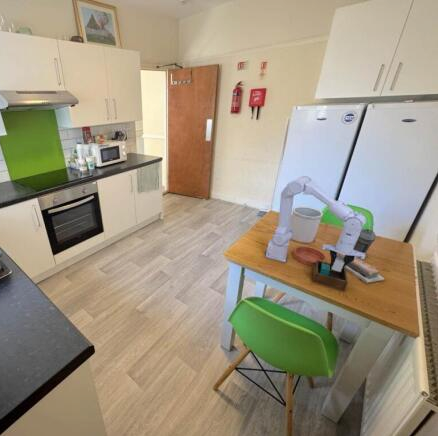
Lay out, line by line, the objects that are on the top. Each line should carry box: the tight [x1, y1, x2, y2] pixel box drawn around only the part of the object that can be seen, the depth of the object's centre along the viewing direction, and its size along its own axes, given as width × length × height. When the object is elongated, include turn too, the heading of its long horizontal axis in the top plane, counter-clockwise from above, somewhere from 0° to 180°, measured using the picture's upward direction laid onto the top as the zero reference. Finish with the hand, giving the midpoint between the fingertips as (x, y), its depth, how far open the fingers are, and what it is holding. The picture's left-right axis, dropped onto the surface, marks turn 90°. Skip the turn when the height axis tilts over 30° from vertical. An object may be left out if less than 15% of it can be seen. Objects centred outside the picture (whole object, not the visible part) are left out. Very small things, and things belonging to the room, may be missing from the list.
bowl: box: [292, 245, 327, 267], centre depth 125 cm, size 14×14×3 cm
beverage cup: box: [353, 223, 377, 259], centre depth 122 cm, size 7×7×20 cm
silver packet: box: [331, 256, 344, 272], centre depth 106 cm, size 3×5×5 cm
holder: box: [312, 260, 349, 292], centre depth 110 cm, size 11×11×6 cm
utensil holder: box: [290, 205, 324, 244], centre depth 140 cm, size 15×15×18 cm
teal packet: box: [319, 263, 330, 276], centre depth 112 cm, size 3×5×5 cm
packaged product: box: [337, 253, 385, 284], centre depth 115 cm, size 18×5×10 cm
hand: (336, 266), depth 107 cm, fingers closed on silver packet, 3 cm apart
